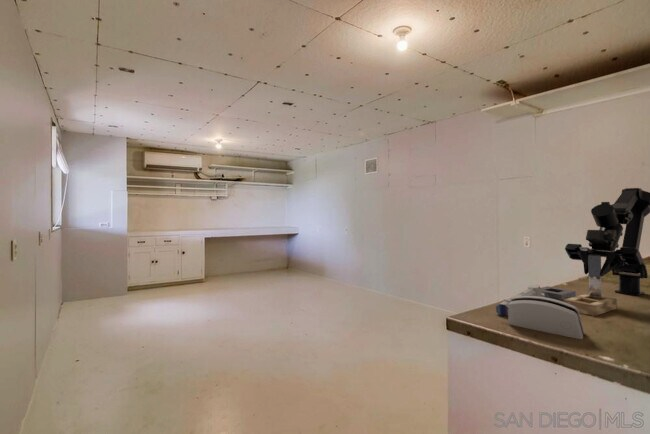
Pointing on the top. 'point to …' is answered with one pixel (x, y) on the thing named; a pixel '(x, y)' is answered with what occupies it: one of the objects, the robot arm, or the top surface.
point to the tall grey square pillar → (594, 275)
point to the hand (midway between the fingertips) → (593, 274)
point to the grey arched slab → (545, 316)
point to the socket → (557, 293)
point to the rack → (592, 304)
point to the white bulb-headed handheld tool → (531, 291)
